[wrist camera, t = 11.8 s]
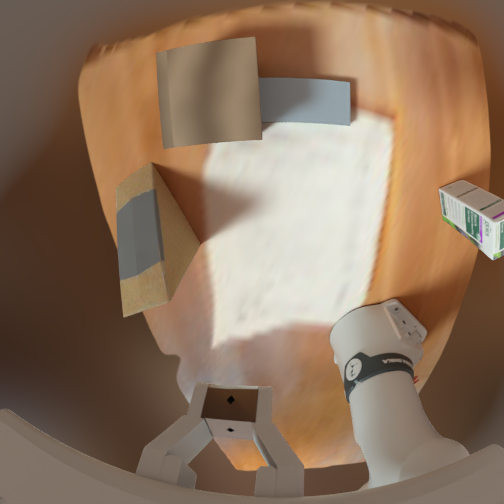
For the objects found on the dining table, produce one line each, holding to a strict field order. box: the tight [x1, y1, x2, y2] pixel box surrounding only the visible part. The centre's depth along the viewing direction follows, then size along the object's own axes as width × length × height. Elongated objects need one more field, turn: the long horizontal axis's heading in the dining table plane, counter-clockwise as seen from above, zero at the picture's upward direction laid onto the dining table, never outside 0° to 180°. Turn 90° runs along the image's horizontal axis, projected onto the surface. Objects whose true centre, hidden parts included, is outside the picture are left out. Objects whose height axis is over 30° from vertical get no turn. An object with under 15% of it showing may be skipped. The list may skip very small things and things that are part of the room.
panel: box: [259, 78, 350, 126], centre depth 31 cm, size 20×6×2 cm, turn 92°
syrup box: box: [439, 180, 504, 260], centre depth 28 cm, size 6×6×14 cm
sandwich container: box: [116, 162, 200, 317], centre depth 34 cm, size 9×15×15 cm, turn 27°
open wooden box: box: [156, 37, 262, 149], centre depth 27 cm, size 10×11×10 cm
